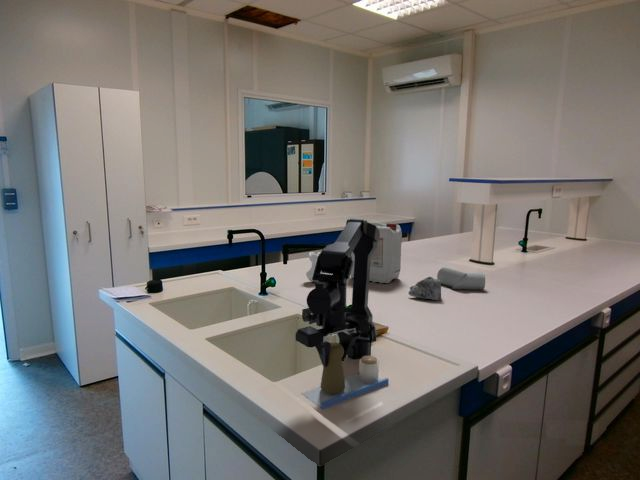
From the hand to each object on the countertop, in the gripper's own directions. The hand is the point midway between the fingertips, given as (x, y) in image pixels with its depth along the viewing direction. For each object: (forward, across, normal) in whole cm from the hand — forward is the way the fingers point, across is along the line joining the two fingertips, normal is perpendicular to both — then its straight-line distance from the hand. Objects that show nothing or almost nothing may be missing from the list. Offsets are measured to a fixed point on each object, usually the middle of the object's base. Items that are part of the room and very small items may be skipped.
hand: (333, 363), depth 106 cm
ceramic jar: (+7, -11, +1) cm, 13 cm away
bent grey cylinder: (+9, -117, -48) cm, 126 cm away
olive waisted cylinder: (+6, 0, 0) cm, 6 cm away
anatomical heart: (+9, -65, -95) cm, 116 cm away
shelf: (+8, -3, +1) cm, 9 cm away
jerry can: (+9, -94, -83) cm, 126 cm away
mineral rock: (+9, -87, -44) cm, 98 cm away
